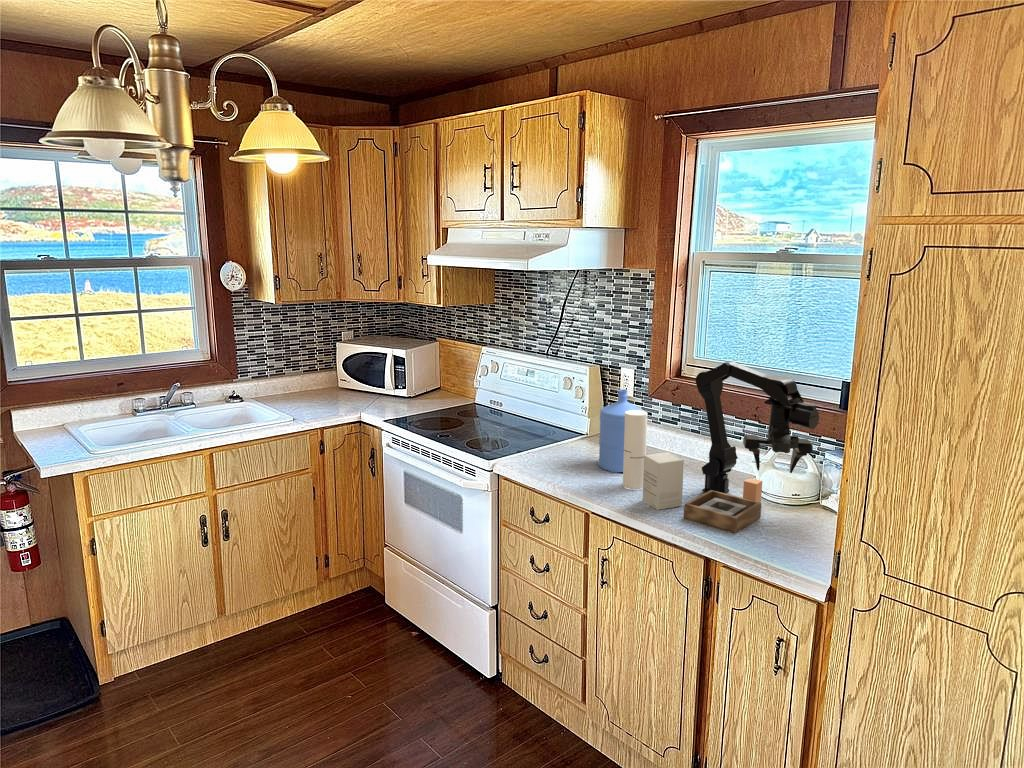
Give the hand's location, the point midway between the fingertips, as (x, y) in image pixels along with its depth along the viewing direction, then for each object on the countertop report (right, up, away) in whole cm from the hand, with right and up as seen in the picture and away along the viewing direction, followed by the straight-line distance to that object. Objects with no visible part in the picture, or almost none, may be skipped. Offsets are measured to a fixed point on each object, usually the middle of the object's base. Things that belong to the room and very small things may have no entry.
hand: (774, 471), depth 207 cm
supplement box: (-32, -11, +7) cm, 35 cm away
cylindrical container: (-38, -8, +22) cm, 45 cm away
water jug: (-39, -4, +42) cm, 58 cm away
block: (-5, -11, +5) cm, 13 cm away
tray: (-17, -13, -4) cm, 22 cm away
